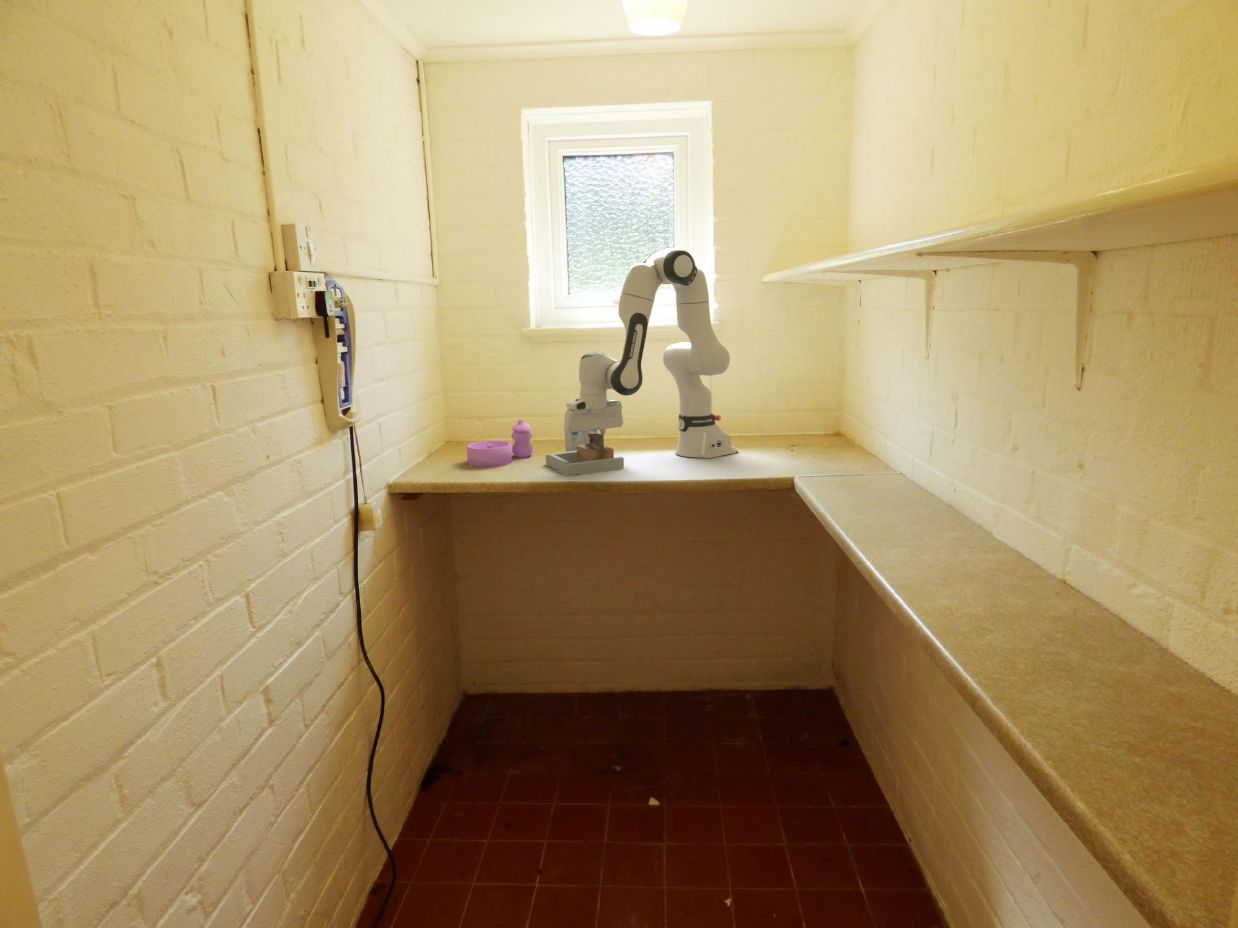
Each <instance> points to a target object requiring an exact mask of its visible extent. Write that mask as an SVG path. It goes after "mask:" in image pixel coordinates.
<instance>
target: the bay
mask: <svg viewBox="0 0 1238 928" xmlns="http://www.w3.org/2000/svg"><path fill="white" fill-rule="evenodd" d="M624 461H625V458H624V457H622V456H618V457H617V456H616V457H615V456H614V458H608V459H600V460H592V461H584V462H577V451H569V452H566V451H563V452H561V451H560V452H555V453H546V454H545V464H546V465H547V466H549V468H552V469H553V470H556V471H557V472H559V471H560V472H559V473H561V472H562V473H561V474H563V475H565V474H566V475H565V476H566V477H570V475H571V476H576V475H575V474H579V475H586V474H590V473H591V472H593V473H599V472H605V471H612V470H613V471H614V470H621V469H624V468H625V466H624V465H625V462H624ZM591 474H592V473H591Z"/></svg>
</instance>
